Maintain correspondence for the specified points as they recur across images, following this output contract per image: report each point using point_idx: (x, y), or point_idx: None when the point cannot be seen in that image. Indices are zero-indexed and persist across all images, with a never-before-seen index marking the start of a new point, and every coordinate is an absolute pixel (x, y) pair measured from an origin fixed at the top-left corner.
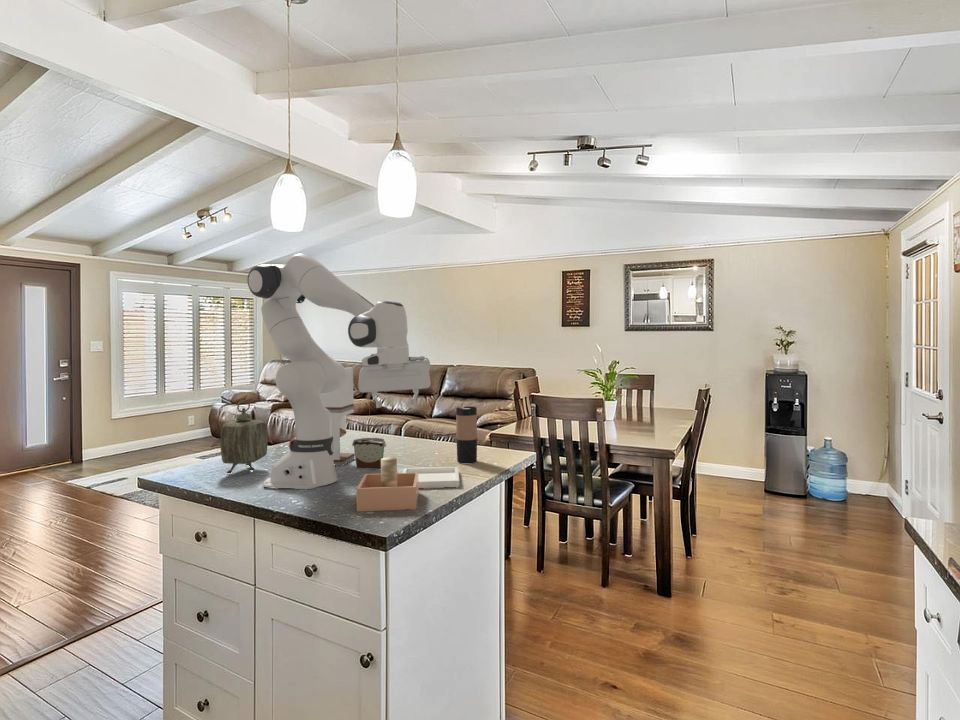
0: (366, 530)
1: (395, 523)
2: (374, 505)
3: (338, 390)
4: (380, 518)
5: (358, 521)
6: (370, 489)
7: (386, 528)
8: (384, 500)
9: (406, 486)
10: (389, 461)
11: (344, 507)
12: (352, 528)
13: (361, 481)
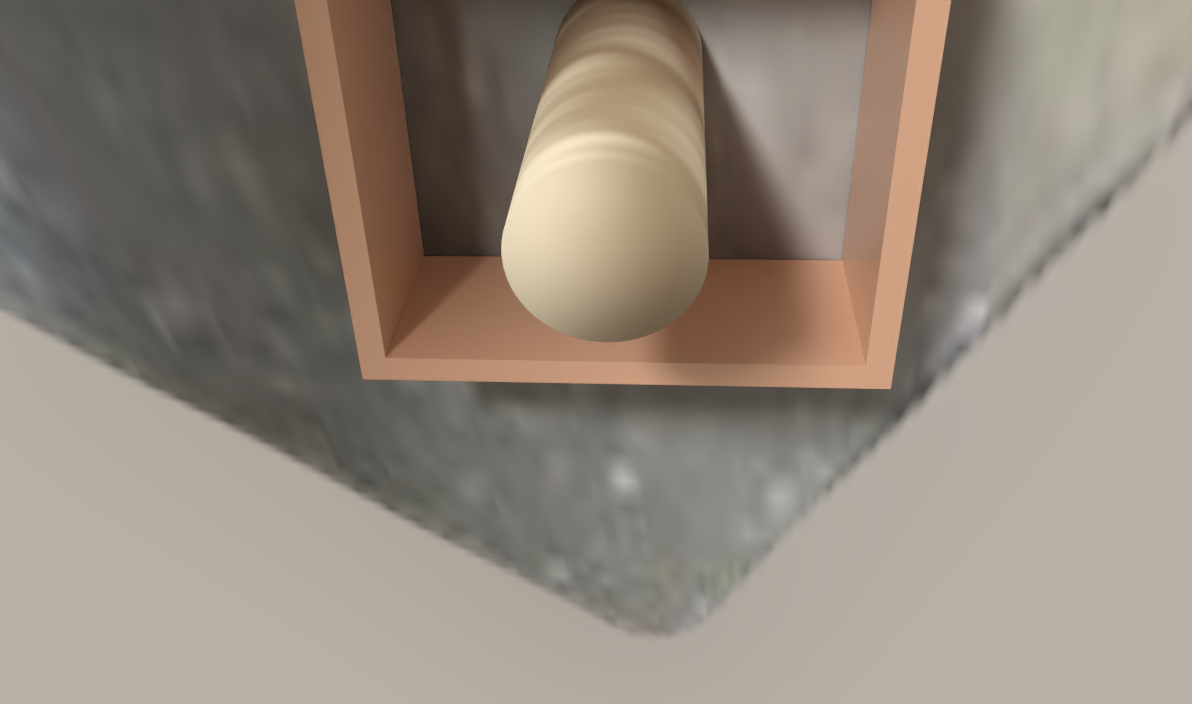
0: (553, 577)
1: (713, 507)
2: None
3: None
4: (606, 422)
5: (470, 453)
6: (484, 377)
7: (665, 565)
8: None
9: (804, 365)
10: (624, 334)
11: (271, 173)
12: (465, 545)
13: (330, 154)
